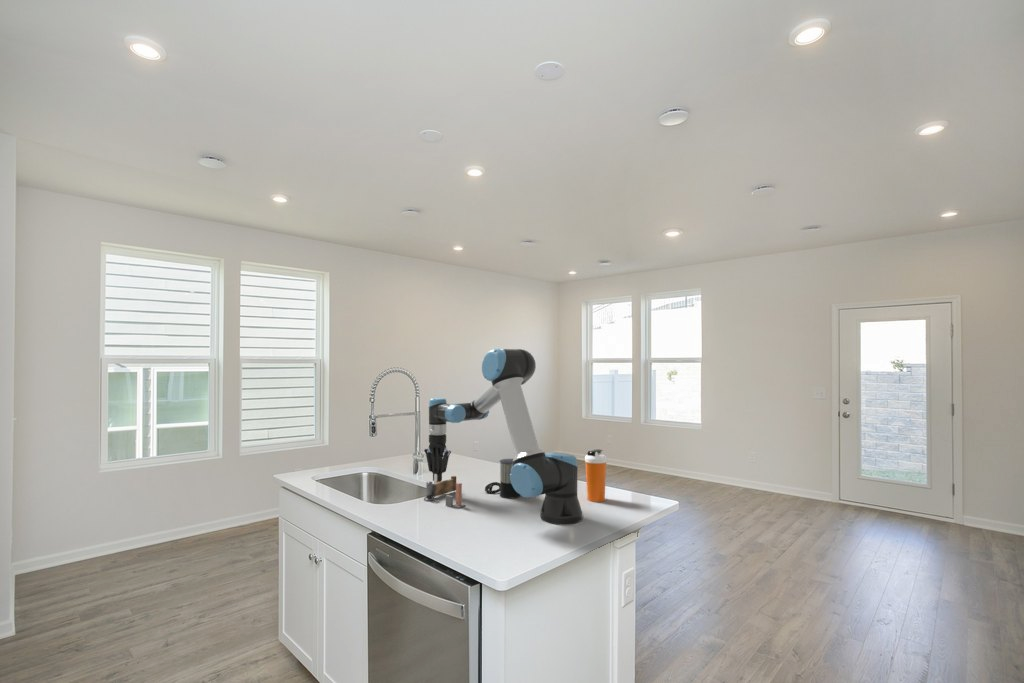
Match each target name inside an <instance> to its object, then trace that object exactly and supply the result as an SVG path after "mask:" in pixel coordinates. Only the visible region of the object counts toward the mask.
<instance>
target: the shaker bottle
mask: <svg viewBox="0 0 1024 683" xmlns="http://www.w3.org/2000/svg"><path fill="white" fill-rule="evenodd" d="M603 451H604V450H603V449H593V450H587V452H586V453H587V454H586V455H585V456H584V462H585V475H586V476H585V477H586V481H585V482H586V495H587V496H586V497H587V499H586V500H588V501H589V502H593V503H601V502H604V501H605V499H606V479H607V478H606V474H607V462H608V461H607V460H608V458H607V456H606V455H605V454H604V453H602V452H603Z"/></svg>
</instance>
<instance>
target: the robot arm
mask: <svg viewBox="0 0 1024 683" xmlns="http://www.w3.org/2000/svg"><path fill="white" fill-rule="evenodd" d="M536 366H537V365H536V360H535V357H534V356H533V355H532V353H531V352H529V351H528V350H525V349H521V348H520V349H519V348H518V349H517V348H511V349H509V348H494V349H491V350H488V351H487V352H486V354H485V355H484V357H483V360H482V361H481V373H482V376H483V378H484V379H486V380H487V381H489V382H491V384H490V385H489V386H488V387H487V388H486V389H484V391H483V392H481V394H479V395H478V396H477V397H476V398H475V399H474V400H472V401H471V402H463V403H448V402H447V399H446V398H444V397H432V398H430V399H429V401H428V404H429V405H428V443H429V445H428V448H424V449H423V451H424V454H425V455H426V461H427V466H428V471H429V473H431V474H432V482H433V484H434V483H438V482H442V481H443V474H444V473H446V472H447V468H448V464H449V463H448V462H449V458H450V454H451V453H452V451H451V450H448V449H447V444H446V443H447V434H446V433H447V423H452V424H459V423H461V422H465V421H467V422H468V421H476V420H478V421H479V420H483V419H486V418H488V416H489V414H490V410H491V409H492V408H493V407H495V405H497V404H498V403H500V402H501V406H502V410H503V413H504V416H505V420H506V424H507V428H508V431H509V432H508V433H509V435H510V439H511V443H512V446H513V451H514V454H515V456H514V458H512V459H513V464H514V466H513V467H512V469H511V474H510V480H511V484H512V486H513V488H514V489H515V491H516V492H517V493H518V494H520V495H521V496H520V497H524V498H536V497H539V496H542V495H544V499H543V503H542V506H541V509H540V518H541V520H543V522H546V523H550V524H558V525H569V524H571V525H572V524H575V523H580V522H581V521H582V520H583V511H582V510H583V509H582V507H581V505H580V504H581V503H580V501H579V497H578V468H579V466H578V460H577V457H576V455H573V454H569V453H561V452H546V453H545V451H544V450H543V449H540V448H539V443H538V440H537V437H536V436H537V435H536V434H535V429H534V427H533V423H532V420H531V416H530V415H531V414H530V413H529V410H528V409H529V408H528V406H527V402H526V399H525V395H524V391H523V387H522V385H523V386H524V385H525V384H526V383H527V382H528V381H529V380H530V379H532V377H533V376H534V373H535V372H536Z"/></svg>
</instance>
